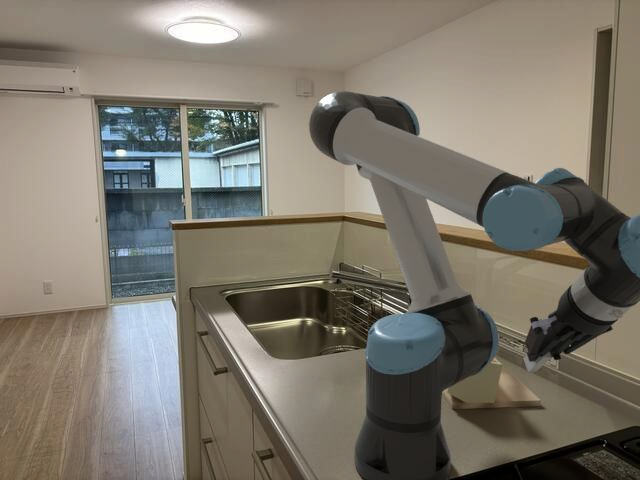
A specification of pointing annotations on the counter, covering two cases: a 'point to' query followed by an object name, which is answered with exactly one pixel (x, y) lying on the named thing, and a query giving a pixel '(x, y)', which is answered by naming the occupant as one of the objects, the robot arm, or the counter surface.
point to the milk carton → (479, 385)
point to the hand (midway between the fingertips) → (529, 364)
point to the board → (501, 395)
